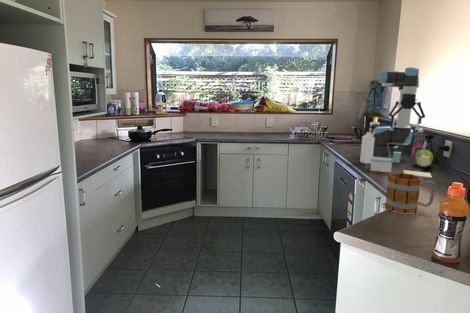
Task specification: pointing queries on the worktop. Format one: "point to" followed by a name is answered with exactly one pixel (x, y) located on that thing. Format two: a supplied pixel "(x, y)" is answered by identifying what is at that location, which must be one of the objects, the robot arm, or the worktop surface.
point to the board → (419, 174)
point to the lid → (389, 160)
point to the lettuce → (423, 158)
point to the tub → (381, 166)
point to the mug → (405, 192)
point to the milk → (367, 148)
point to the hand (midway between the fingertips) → (405, 128)
